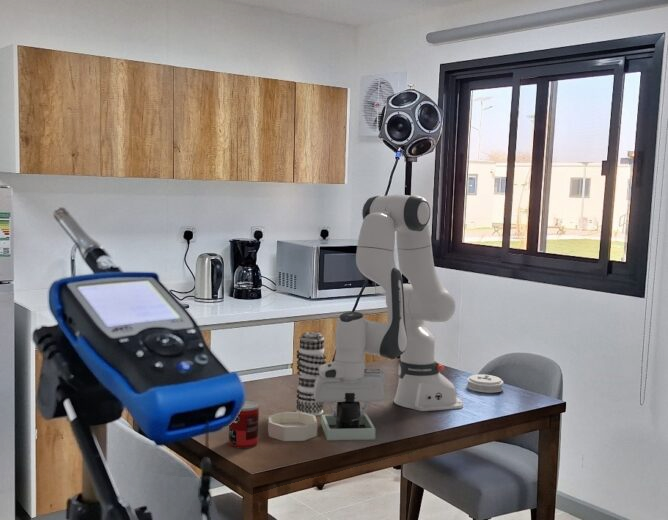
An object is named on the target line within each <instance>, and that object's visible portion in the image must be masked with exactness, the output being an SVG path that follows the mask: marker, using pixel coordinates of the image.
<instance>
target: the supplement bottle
mask: <svg viewBox="0 0 668 520" xmlns="http://www.w3.org/2000/svg"><path fill="white" fill-rule="evenodd" d="M354 397H355V394H354V393H345V398H344V399H346V401H344V402H336V410H337V417H336V425H335V429H352V428H360V425H359V422H360V409H361V402H355V401H354V399H355V398H354Z"/></svg>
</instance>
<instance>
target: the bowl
mask: <svg viewBox="0 0 668 520" xmlns="http://www.w3.org/2000/svg"><path fill="white" fill-rule="evenodd" d="M267 433H268V437H269V438H273V439H276V440H279V441H281V442H301V441H302V442H305V441H307V440H310V439H312V438H315V437H317V436H318V420H317V416H314V415H311V414H307V413H303V412H297V411H280V412H277V413H274V414H271V415H269V416H268V417H267Z"/></svg>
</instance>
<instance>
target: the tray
mask: <svg viewBox="0 0 668 520" xmlns="http://www.w3.org/2000/svg"><path fill="white" fill-rule="evenodd" d="M320 423H321V427H322V429H323V433H324V436H325V438H326V441H357V440H358V441H359V440H360V441H361V440H362V441H363V440H376V428H375V426H374V424H373V422H372V421H371V419H370V417H369V415H368V414H367V413H365V416H363V417H360V422H359V426H361V425H364V427H362V428H361V427H359V428H352V429H336V428H330V426H336V417H332V416H331V414H321V422H320Z"/></svg>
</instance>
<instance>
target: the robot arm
mask: <svg viewBox="0 0 668 520" xmlns="http://www.w3.org/2000/svg"><path fill="white" fill-rule="evenodd" d="M361 210H362V212H361V213H362V219H363V220H362V224H361V227H360V230H359V235H358V240H357V245H356V252H355V253H356V255H355V263H356V267H357V268H358V271H359V272H360V273H361V274H362V275H363V276H364V277H365V278H367V279H368V280H370V281H372V282H374V283H375V284H377V285H379V286H380V287H381V288H382V289H383V290H384V292H385V294H386V295H385V304H386V309H387V311H386V312H387V322H379V321H372V320H368V319H366V318H365V315H364V314H363V313H361V312H358V311H348V312H346V311H345V312H343V313H342V314H340V315H339V316H337V317H338V319H337V320H336V326H335V332H334V333H335V335H334V336H335V337H334V346H335V355H334V357H333V358H334V361H331V362H328V363H325V364H323V365H321V366H319V375H318V376H317V378H316V380H315V385H314V395H313V396H314V399H315V401H316V402H324V403H327V405H328V407H329V409H330V411H331V413H330V415H331V416H332V417H337V408H336V409H335V408H334V407H333V406H334V403H337V402H344V401H346V399H344V398H345V393H354V394H355V397H354V398H355V399H354V401H355V402H360V403H362V402H363V407H362V408H360V417H363V416H365V414H366V411H367V410H368V408H369V406H370V402H371V403H372V402H375V403H376V402H379V403H380V402H382V401H383V400H384V398H385V393H384V392H385V391H384V383H385V381H386V379H385V378H386V374H385V372H384V371H383V370H381V369H379V368H375V369H373V368H366V356H365V354H368V355H372V356H373V355H374V356H379V357H383V358H385V359H390V360H395V359H397V358H399V357H400V359H399V361H398V369H397V370H398V372H397V374H398V382H397V384H398V385H397V388H396V393H395V397H394V399H393V403H394V404H396V405H398V406H400V407H403V408H408V409H413V410H416V411H419V412H429V411H430V412H431V411H442V410H453V409H462V408H463V407H464V403H463V400H462V399H461V398H460V397H458V396H457V391H456V388H455V386H454V383H452V382H451V381H450V380H449V379H448V378H447V377H445V375H443V374H441V372H444V370H445V366H444V365H443V364H440V363H439V362H437V361H436V360H435V354H436V351H435V350H436V340H435V339H436V338H435V337H434V335H433V333H431V331H429V329H428V328H427V325H426V322H428V323H429V322H430V323H445V322H448V321H449V320H450V319H452V317H453V315H455V314H454V313H455V311H456V301H455V298H454V296H453V294H451V292H449V291H448V290H447V289H446V287H445V286H444V284H443V283H442V282H441V279H440V278H439V276H438V275H439V274H437V270H436V268H435V263H434V262H435V261H434V256H433V246H432V238H431V232H430V228H429V227H430V226H429V221H430V218H431V207H430V204H429V203H428V201H427V200H426V198H425V197H423V196H419V195H413V194H412V195H407V194H389V195H375V196H371V197H369V198H368V199H367V200H366V201H365V203H363V206H362V209H361ZM395 233H396V235H395ZM395 237H396V238H395ZM395 239H396V240H395ZM395 241H396V249H397V250H396V252H397V258H398V260H397V261H398V268H399V269H398V268H397V266H396V263H395V258H394V256H395V255H394V253H395ZM403 276H404V277H405V278H406V279H407V280H408V282H409V283H404V281H403Z"/></svg>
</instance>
